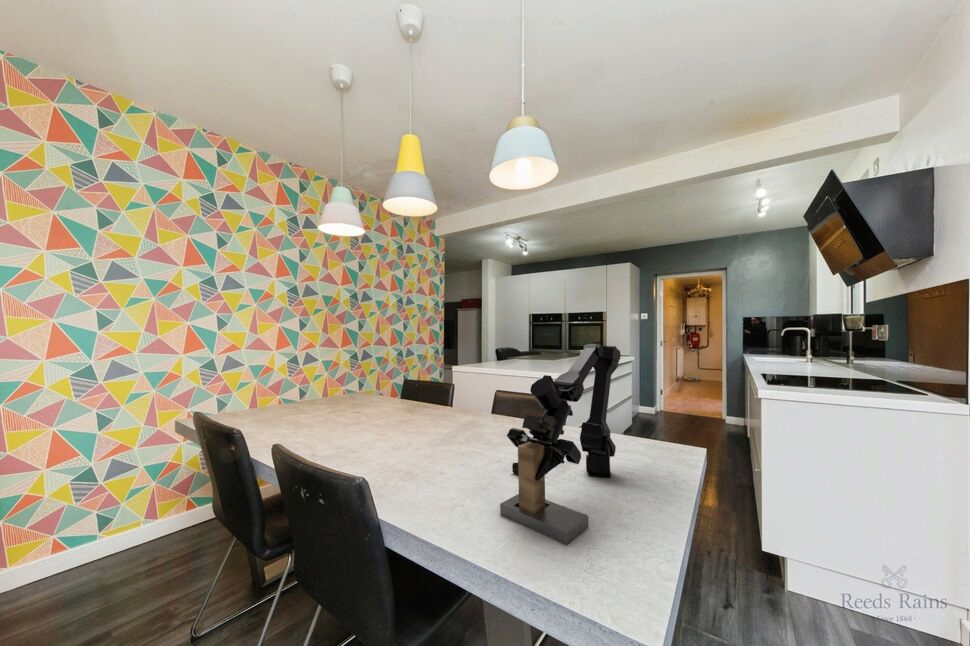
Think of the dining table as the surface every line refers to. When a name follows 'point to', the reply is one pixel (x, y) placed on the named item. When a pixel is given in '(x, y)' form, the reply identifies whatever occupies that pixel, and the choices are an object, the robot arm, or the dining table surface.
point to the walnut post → (530, 478)
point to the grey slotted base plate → (548, 519)
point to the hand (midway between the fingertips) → (528, 477)
